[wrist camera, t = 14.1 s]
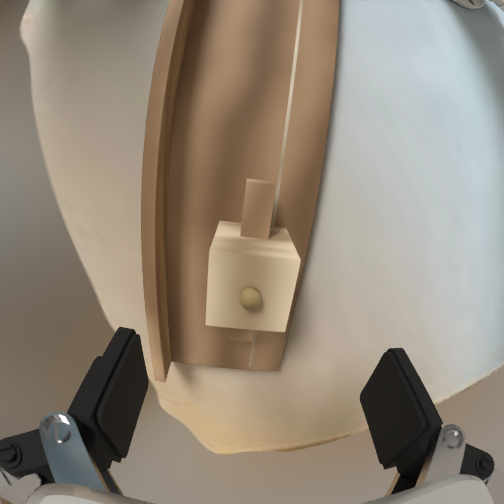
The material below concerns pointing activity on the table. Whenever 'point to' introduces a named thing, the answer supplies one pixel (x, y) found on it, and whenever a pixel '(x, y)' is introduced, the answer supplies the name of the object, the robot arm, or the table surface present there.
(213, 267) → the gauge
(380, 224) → the table surface
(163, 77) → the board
